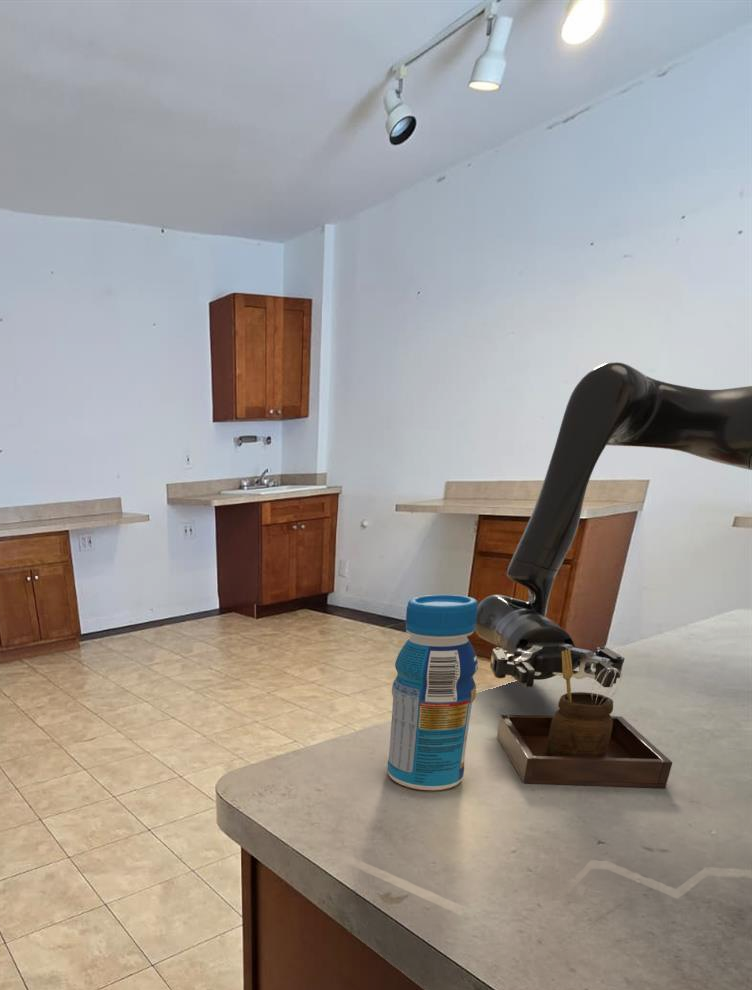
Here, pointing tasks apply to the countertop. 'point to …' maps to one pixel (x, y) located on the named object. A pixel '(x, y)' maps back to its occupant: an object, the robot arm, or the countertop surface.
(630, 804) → the countertop surface
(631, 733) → the tray box
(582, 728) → the utensil holder
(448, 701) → the beverage bottle
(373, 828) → the countertop surface
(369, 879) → the countertop surface
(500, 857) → the countertop surface
